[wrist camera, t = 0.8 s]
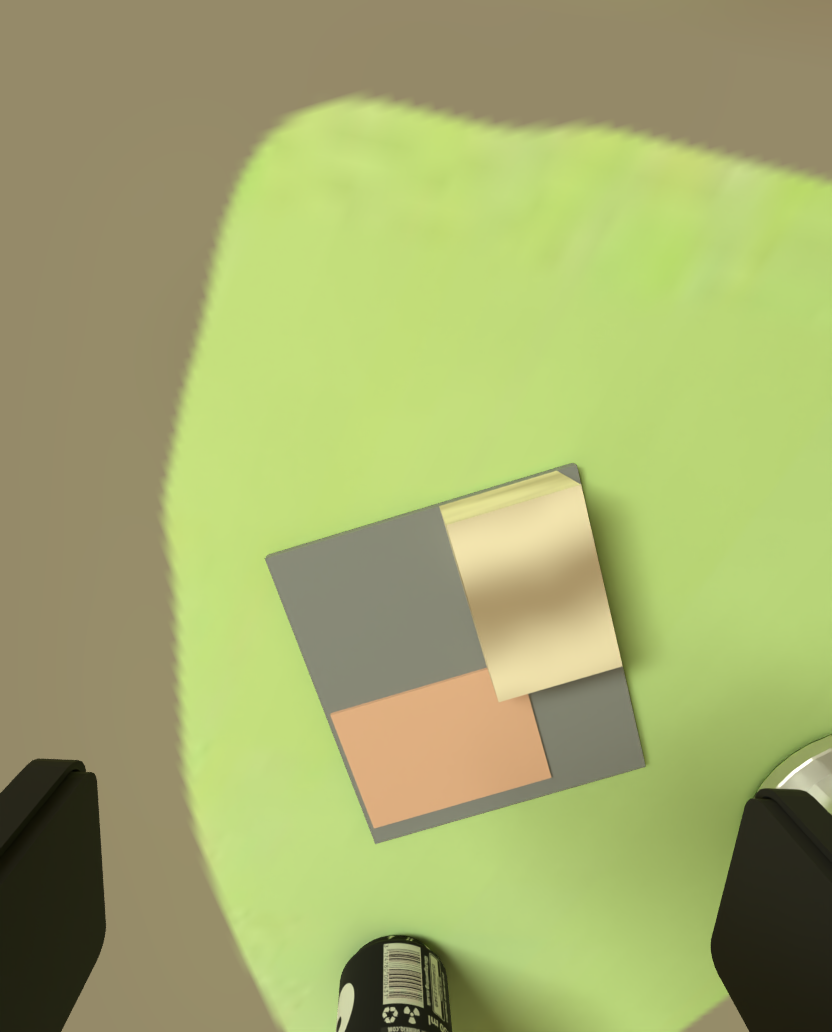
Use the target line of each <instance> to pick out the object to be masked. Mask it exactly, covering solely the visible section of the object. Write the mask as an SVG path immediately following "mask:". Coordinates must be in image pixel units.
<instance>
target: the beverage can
mask: <svg viewBox="0 0 832 1032" xmlns="http://www.w3.org/2000/svg"><path fill="white" fill-rule="evenodd" d="M336 1032H452V1025H451V1015H450V1004H449V994H448V983H447V975H446V971H445V968H444V966H443V964H442V962H441V960H440V959H439V958H438V957H437V955H435V954H434V953H433V952H432V951H431V950H430V949H429V948H428V947H427V946H426V945H424V944H423V943H421V942H420V941H418V940H415V939H413V938H409V937H405V936H386V937H381V938H378V939H376V940H373V941H371V942H369V943H368V944H366V945H364V946H363V947H362V948H361V949H360V950H359V951H358V952H357V953H356V954H355V955H354V956H353V957H352V958H351V959H350V960H349V961H348V963H347V964H346V966H345V968H344V970H343V972H342V975H341V979H340V988H339V1001H338V1013H337V1025H336Z"/></svg>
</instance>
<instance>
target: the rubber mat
mask: <svg viewBox="0 0 832 1032" xmlns="http://www.w3.org/2000/svg"><path fill="white" fill-rule="evenodd" d="M554 471H558V472H560V473H562V474H564V475H565V476H567V477H569V478H570V479H572V480H574V481H576V482H577V483H579V484H581V482H580V477H579V473H578V468H577V465H576V464H574V463H571V464H567V465H564V466H561V467H557V468H554V469H551V470H547V471H544V472H541V473H537V474H534V475H531V476H527V477H524V478H521V479H518V480H514V481H511V482H508V483H504V484H501V485H498V486H494V487H491V488H488V489H484V490H481V491H478V492H474V493H471V494H468V495H465V496H461V497H458V498H455V499H451V500H448V501H445V502H441V503H438V504H435V505H431V506H428V507H425V508H422V509H418V510H415V511H412V512H408V513H405V514H402V515H398V516H395V517H392V518H388V519H385V520H382V521H378V522H375V523H372V524H369V525H365V526H362V527H359V528H355V529H352V530H349V531H345V532H342V533H339V534H335V535H332V536H329V537H325V538H322V539H319V540H316V541H312V542H309V543H306V544H302V545H299V546H296V547H292V548H289V549H286V550H282V551H279V552H276V553H272V554H269V555H267V556H266V558H265V560H266V563H267V565H268V568H269V571H270V573H271V576H272V578H273V581H274V583H275V586H276V589H277V591H278V594H279V596H280V599H281V602H282V604H283V607H284V609H285V612H286V614H287V617H288V620H289V622H290V625H291V627H292V630H293V632H294V635H295V638H296V640H297V643H298V645H299V648H300V651H301V653H302V656H303V658H304V661H305V663H306V666H307V669H308V671H309V674H310V676H311V679H312V682H313V684H314V687H315V689H316V692H317V694H318V697H319V700H320V702H321V705H322V707H323V710H324V713H325V715H326V718H327V720H328V723H329V725H330V728H331V731H332V733H333V736H334V738H335V741H336V743H337V746H338V749H339V751H340V754H341V756H342V759H343V762H344V764H345V767H346V769H347V772H348V774H349V777H350V780H351V782H352V785H353V787H354V790H355V793H356V795H357V798H358V800H359V803H360V805H361V808H362V811H363V813H364V816H365V818H366V821H367V823H368V826H369V829H370V831H371V834H372V836H373V839H374V842H375V844H377V843H380V842H384V841H387V840H391V839H394V838H398V837H401V836H405V835H408V834H412V833H415V832H419V831H422V830H426V829H429V828H433V827H436V826H440V825H443V824H447V823H450V822H454V821H457V820H461V819H464V818H468V817H471V816H475V815H478V814H482V813H485V812H489V811H492V810H496V809H499V808H503V807H506V806H510V805H513V804H517V803H520V802H524V801H527V800H531V799H534V798H538V797H541V796H545V795H548V794H552V793H555V792H559V791H562V790H566V789H569V788H573V787H576V786H580V785H583V784H587V783H590V782H594V781H597V780H601V779H604V778H608V777H611V776H615V775H618V774H622V773H625V772H629V771H632V770H636V769H639V768H643V767H646V766H645V762H644V757H643V753H642V748H641V744H640V740H639V735H638V731H637V727H636V722H635V718H634V713H633V709H632V705H631V700H630V696H629V692H628V687H627V683H626V678H625V674H624V670H623V665H622V667H618V668H615V669H612V670H608V671H605V672H601V673H598V674H594V675H591V676H588V677H584V678H581V679H577V680H574V681H570V682H567V683H564V684H560V685H557V686H553V687H550V688H546V689H543V690H539V691H536V692H533V693H529V694H526V695H522V696H519V697H515V698H512V699H509V700H505V701H502V702H498V699H497V696H496V693H495V690H494V687H493V684H492V681H491V678H490V675H489V672H488V669H487V666H486V663H485V659H484V656H483V652H482V649H481V646H480V642H479V639H478V636H477V632H476V629H475V625H474V622H473V619H472V615H471V612H470V609H469V605H468V602H467V599H466V595H465V592H464V588H463V585H462V582H461V578H460V575H459V572H458V568H457V565H456V562H455V558H454V555H453V551H452V548H451V545H450V541H449V538H448V535H447V531H446V528H445V524H444V521H443V518H442V514H441V511H440V508H439V506H441V505H445V504H448V503H451V502H455V501H458V500H461V499H465V498H468V497H471V496H475V495H478V494H481V493H484V492H488V491H491V490H494V489H498V488H501V487H504V486H508V485H511V484H514V483H518V482H521V481H524V480H528V479H531V478H534V477H537V476H541V475H544V474H547V473H551V472H554ZM581 487H582V486H581ZM582 491H583V490H582ZM584 500H585V499H584ZM585 504H586V503H585ZM587 513H588V512H587ZM589 522H590V521H589ZM590 526H591V525H590ZM592 535H593V534H592ZM593 539H594V538H593ZM595 548H596V547H595ZM597 557H598V556H597ZM598 561H599V560H598ZM600 570H601V569H600ZM601 574H602V573H601ZM603 583H604V582H603ZM605 592H606V591H605ZM606 596H607V595H606ZM608 605H609V604H608ZM609 609H610V608H609ZM611 618H612V617H611ZM614 631H615V630H614ZM616 640H617V639H616ZM617 644H618V643H617ZM619 653H620V652H619Z"/></svg>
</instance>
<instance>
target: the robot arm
mask: <svg viewBox="0 0 832 1032" xmlns="http://www.w3.org/2000/svg"><path fill="white" fill-rule="evenodd" d="M105 931H106V920H105V903H104V888H103V871H102V855H101V839H100V823H99V807H98V791H97V780H96V776H95V774H94V773H92V772H86V769H85V766H84V764H83V762H82V761H79V760H58V759H36V760H33V761H31V762H30V763H29V764H28V765H27V766H26V767H25V768H24V769H23V770H22V771H21V772H20V773H19V774H18V775H17V776H16V777H15V778H14V779H13V780H12V782H11V783H10V784H9V785H8V786H7V787H6V788H5V789H4V790H3V791H2V792H1V793H0V1032H61V1031H62V1029H63V1027H64V1024H65V1023H66V1021H67V1019H68V1017H69V1015H70V1013H71V1011H72V1009H73V1007H74V1005H75V1003H76V1001H77V999H78V997H79V995H80V993H81V991H82V989H83V987H84V985H85V983H86V981H87V979H88V977H89V975H90V973H91V971H92V969H93V967H94V965H95V963H96V961H97V958H98V957H99V954H100V952H101V949H102V946H103V942H104V937H105ZM711 954H712V959H713V962H714V965H715V968H716V970H717V973H718V975H719V977H720V978H721V980H722V982H723V984H724V986H725V988H726V989H727V991H728V993H729V995H730V997H731V999H732V1000H733V1002H734V1004H735V1006H736V1007H737V1010H738V1011H739V1013H740V1015H741V1017H742V1019H743V1020H744V1022H745V1024H746V1026H747V1028H748V1030H749V1032H832V735H831V736H828V737H825V738H823V739H820V740H818V741H816V742H813V743H811V744H809V745H807V746H805V747H804V748H802V749H800V750H799V751H797V752H795V753H794V754H792V755H791V756H789V757H788V758H787V759H786V760H785V761H783V762H782V763H781V764H780V765H779V766H777V767H776V768H775V769H774V770H773V772H772V773H771V774H770V775H769V776H768V777H767V778H766V780H765V781H764V782H763V783H762V784H761V786H760V788H759V789H758V791H757V793H756V794H755V796H754V798H753V799H750V800H749V801H747V803H746V805H745V808H744V812H743V816H742V820H741V824H740V828H739V832H738V836H737V840H736V844H735V848H734V852H733V856H732V860H731V863H730V867H729V871H728V875H727V879H726V883H725V887H724V891H723V895H722V899H721V903H720V907H719V911H718V915H717V919H716V923H715V927H714V930H713V934H712V938H711Z"/></svg>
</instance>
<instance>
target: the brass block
mask: <svg viewBox="0 0 832 1032" xmlns="http://www.w3.org/2000/svg"><path fill="white" fill-rule="evenodd" d="M439 508H440V511H441V514H442V518H443V521H444V524H445V528H446V531H447V535H448V538H449V541H450V545H451V548H452V551H453V555H454V558H455V562H456V565H457V568H458V572H459V575H460V578H461V582H462V585H463V588H464V592H465V595H466V599H467V602H468V605H469V609H470V612H471V615H472V619H473V622H474V625H475V629H476V632H477V636H478V639H479V642H480V646H481V649H482V652H483V656H484V659H485V663H486V666H487V669H488V672H489V675H490V678H491V681H492V684H493V687H494V690H495V693H496V696H497V699H498V702H502V701H505V700H509V699H512V698H515V697H519V696H522V695H526V694H529V693H533V692H536V691H539V690H543V689H546V688H550V687H553V686H557V685H560V684H564V683H567V682H570V681H574V680H577V679H581V678H584V677H588V676H591V675H594V674H598V673H601V672H605V671H608V670H612V669H615V668H618V667H622V661H621V657H620V653H619V648H618V644H617V640H616V635H615V631H614V626H613V622H612V618H611V613H610V609H609V605H608V600H607V596H606V592H605V587H604V583H603V578H602V574H601V570H600V565H599V561H598V557H597V552H596V548H595V543H594V539H593V535H592V530H591V526H590V522H589V517H588V513H587V508H586V504H585V500H584V495H583V491H582V487H581V484H579V483H577V482H576V481H574V480H572V479H570V478H569V477H567V476H565V475H564V474H562V473H560V472H558V471H554V472H551V473H547V474H544V475H541V476H537V477H534V478H531V479H528V480H524V481H521V482H518V483H514V484H511V485H508V486H504V487H501V488H498V489H494V490H491V491H488V492H484V493H481V494H478V495H475V496H471V497H468V498H465V499H461V500H458V501H455V502H451V503H448V504H445V505H441V506H439Z"/></svg>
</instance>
